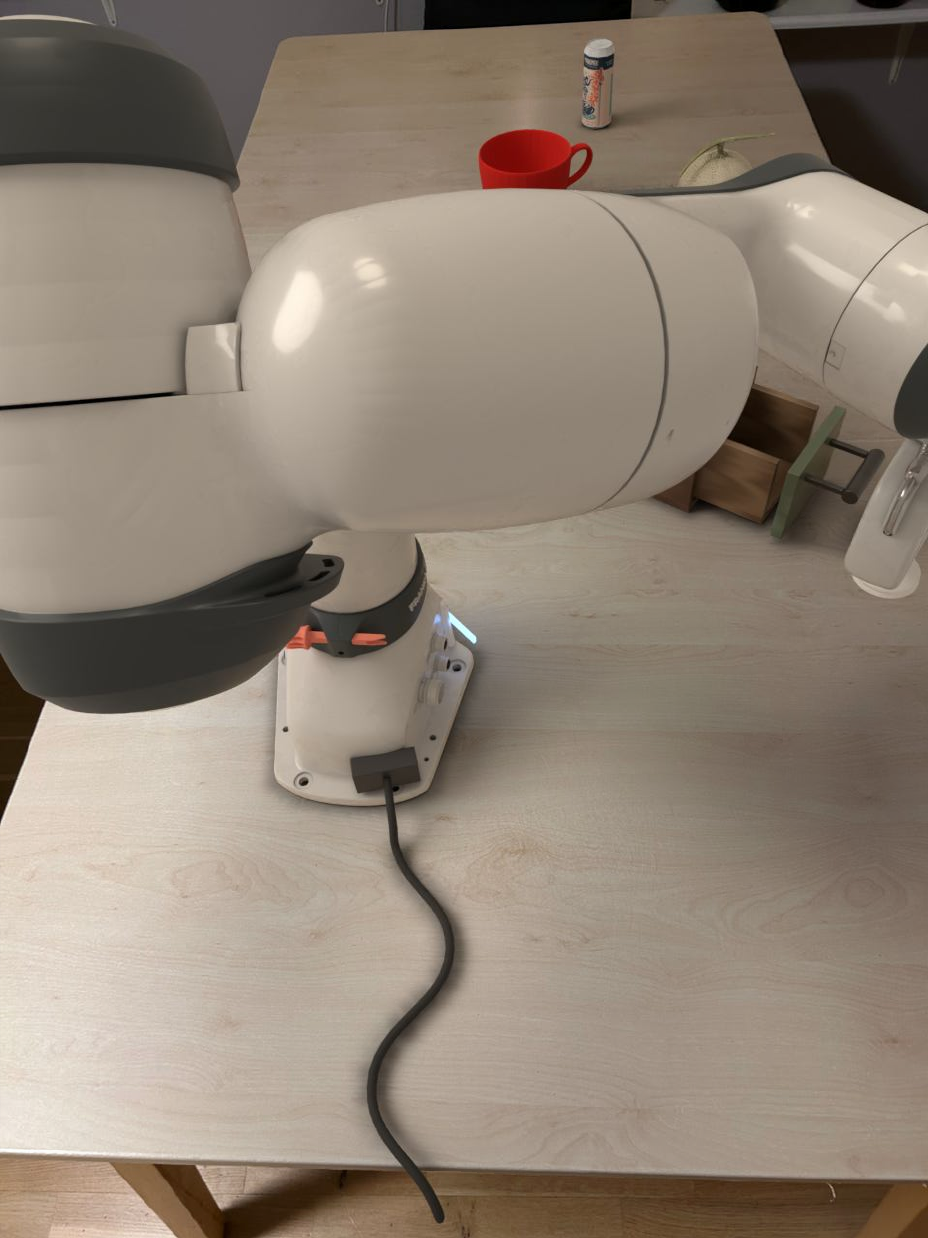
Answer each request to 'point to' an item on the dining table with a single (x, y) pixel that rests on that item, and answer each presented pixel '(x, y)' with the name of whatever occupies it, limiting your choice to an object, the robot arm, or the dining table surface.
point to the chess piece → (901, 591)
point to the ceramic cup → (530, 160)
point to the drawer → (779, 460)
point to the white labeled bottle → (597, 83)
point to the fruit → (716, 164)
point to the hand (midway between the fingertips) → (898, 540)
